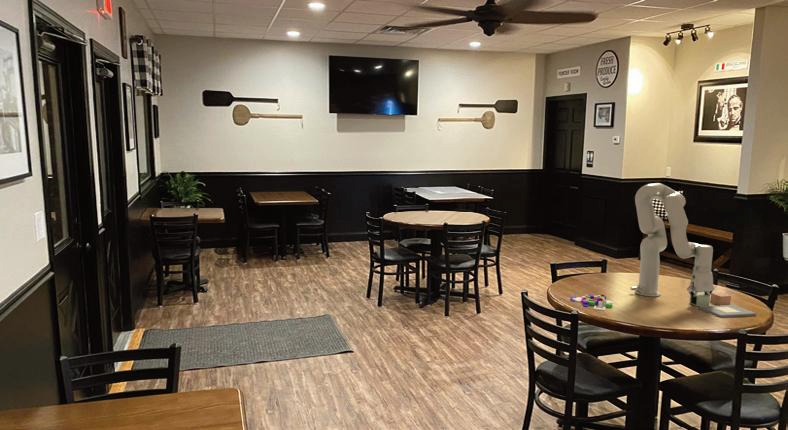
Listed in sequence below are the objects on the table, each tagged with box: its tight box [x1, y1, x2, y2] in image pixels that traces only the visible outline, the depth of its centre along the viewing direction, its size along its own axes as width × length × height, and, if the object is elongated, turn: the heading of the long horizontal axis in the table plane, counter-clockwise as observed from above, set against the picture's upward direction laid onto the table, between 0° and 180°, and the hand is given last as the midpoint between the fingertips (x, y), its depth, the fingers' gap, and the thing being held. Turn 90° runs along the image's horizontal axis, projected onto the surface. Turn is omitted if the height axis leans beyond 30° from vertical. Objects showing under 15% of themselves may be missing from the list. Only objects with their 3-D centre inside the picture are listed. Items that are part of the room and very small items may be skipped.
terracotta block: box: [710, 292, 732, 306], centre depth 293 cm, size 6×6×5 cm
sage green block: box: [689, 292, 711, 307], centre depth 291 cm, size 6×6×5 cm
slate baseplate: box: [698, 304, 757, 318], centre depth 278 cm, size 20×14×1 cm
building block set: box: [570, 293, 613, 311], centre depth 291 cm, size 25×20×4 cm
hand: (699, 303), depth 291 cm, fingers closed on sage green block, 6 cm apart
